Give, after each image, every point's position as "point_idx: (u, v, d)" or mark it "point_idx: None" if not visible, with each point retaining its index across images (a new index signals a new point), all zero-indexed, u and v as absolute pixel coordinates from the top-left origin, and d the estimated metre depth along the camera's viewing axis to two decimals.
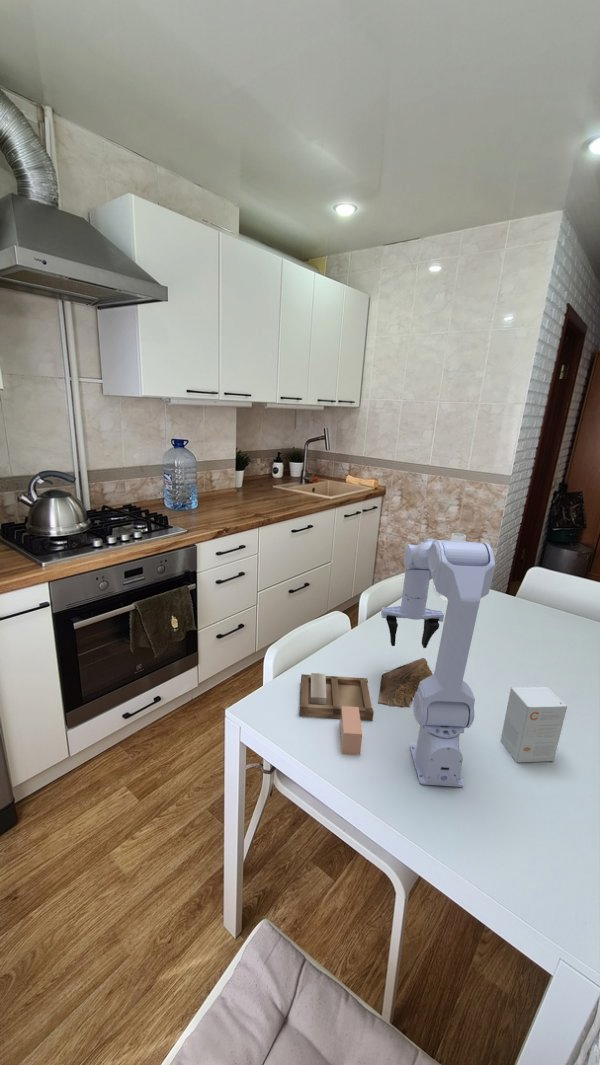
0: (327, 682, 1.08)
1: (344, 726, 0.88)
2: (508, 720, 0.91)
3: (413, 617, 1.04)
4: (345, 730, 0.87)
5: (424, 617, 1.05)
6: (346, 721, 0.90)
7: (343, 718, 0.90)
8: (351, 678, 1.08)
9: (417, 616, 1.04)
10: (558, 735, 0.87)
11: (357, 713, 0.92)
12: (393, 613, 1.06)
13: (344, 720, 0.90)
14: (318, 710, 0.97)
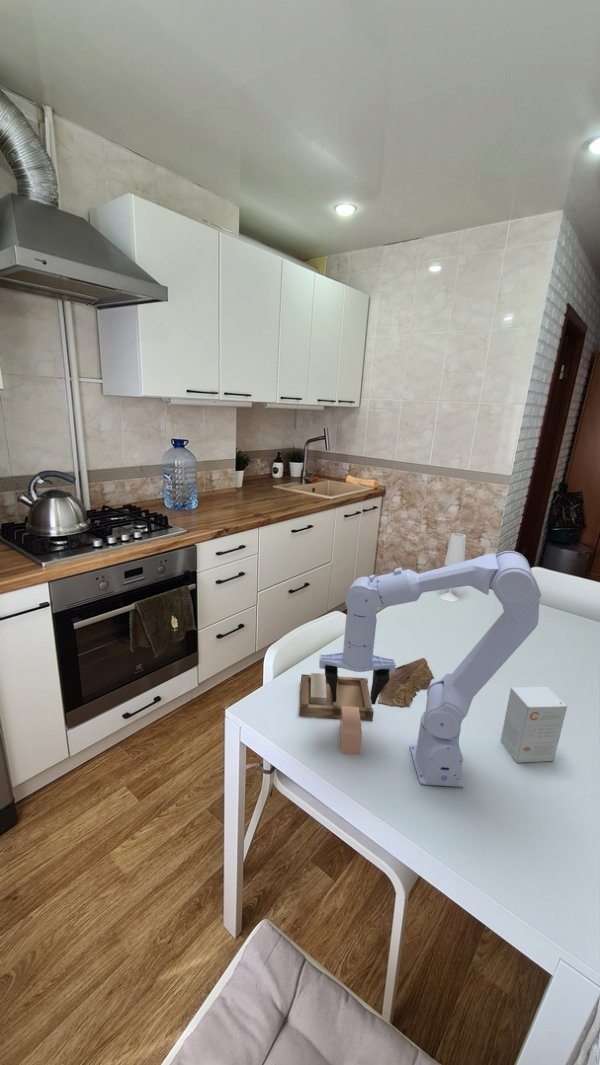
0: (327, 682, 1.08)
1: (344, 726, 0.88)
2: (508, 720, 0.91)
3: (356, 669, 0.84)
4: (345, 730, 0.87)
5: (370, 669, 0.84)
6: (346, 721, 0.90)
7: (343, 718, 0.90)
8: (351, 678, 1.08)
9: (361, 668, 0.84)
10: (558, 735, 0.87)
11: (357, 713, 0.92)
12: (332, 663, 0.85)
13: (344, 719, 0.90)
14: (318, 710, 0.97)
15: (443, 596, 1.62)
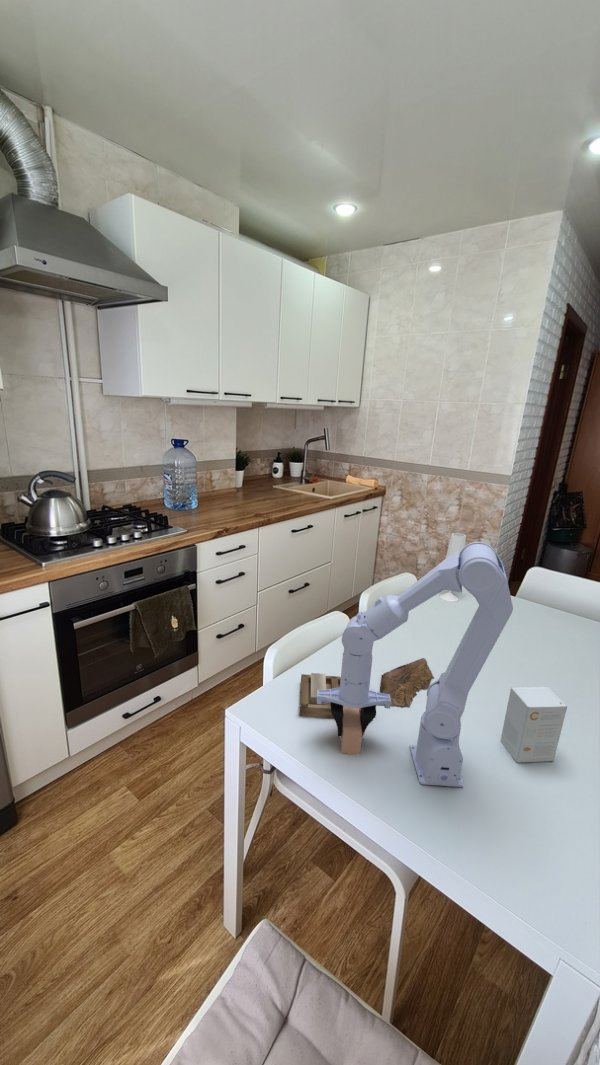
0: (327, 682, 1.08)
1: (344, 725, 0.88)
2: (508, 720, 0.91)
3: (352, 705, 0.86)
4: (345, 730, 0.87)
5: (366, 705, 0.86)
6: (346, 720, 0.90)
7: (343, 717, 0.90)
8: None
9: (357, 704, 0.86)
10: (558, 735, 0.87)
11: (357, 712, 0.92)
12: (329, 699, 0.87)
13: (344, 719, 0.90)
14: (318, 710, 0.97)
15: (443, 596, 1.62)
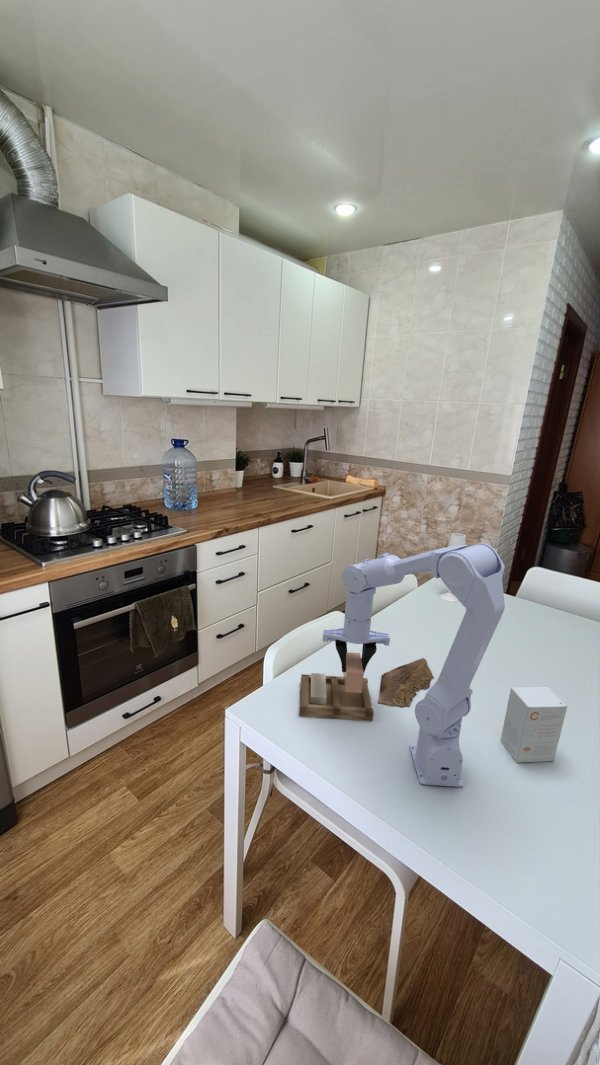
0: (327, 682, 1.08)
1: (347, 667, 0.98)
2: (508, 720, 0.91)
3: (355, 641, 0.95)
4: (349, 670, 0.97)
5: (367, 641, 0.96)
6: (349, 663, 0.99)
7: (346, 661, 1.00)
8: None
9: (359, 640, 0.95)
10: (558, 735, 0.87)
11: (359, 657, 1.02)
12: (334, 636, 0.97)
13: (347, 662, 0.99)
14: (318, 710, 0.97)
15: (443, 596, 1.62)
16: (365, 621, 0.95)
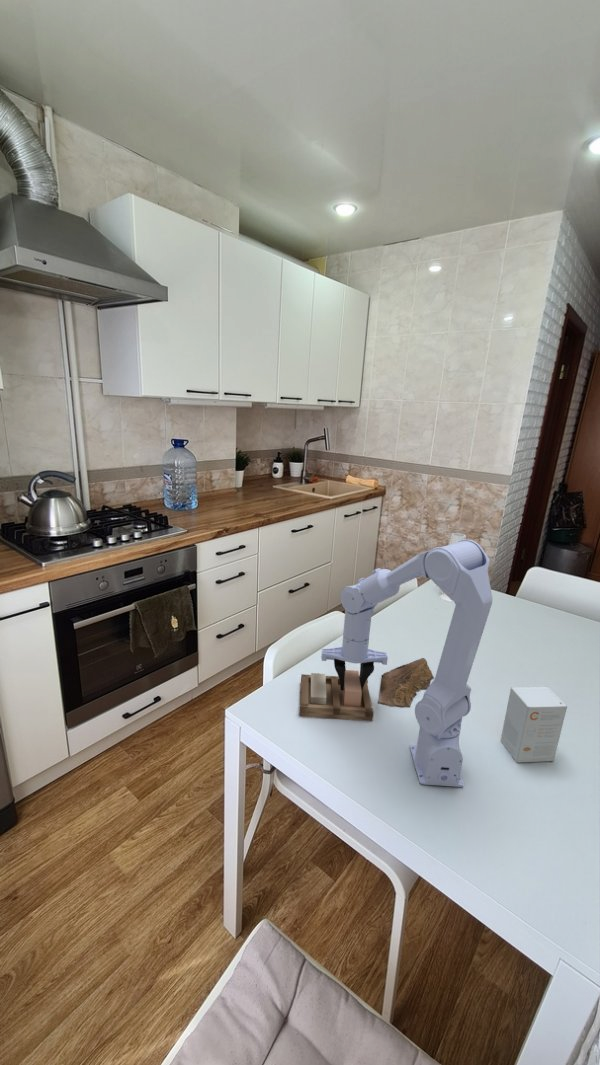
0: (327, 682, 1.08)
1: (345, 685, 0.99)
2: (508, 720, 0.91)
3: (353, 661, 0.97)
4: (347, 689, 0.98)
5: (365, 661, 0.97)
6: (347, 681, 1.01)
7: (344, 679, 1.01)
8: None
9: (358, 660, 0.97)
10: (558, 735, 0.87)
11: (357, 675, 1.03)
12: (333, 656, 0.98)
13: (345, 680, 1.01)
14: (318, 710, 0.97)
15: (443, 596, 1.62)
16: (363, 641, 0.96)
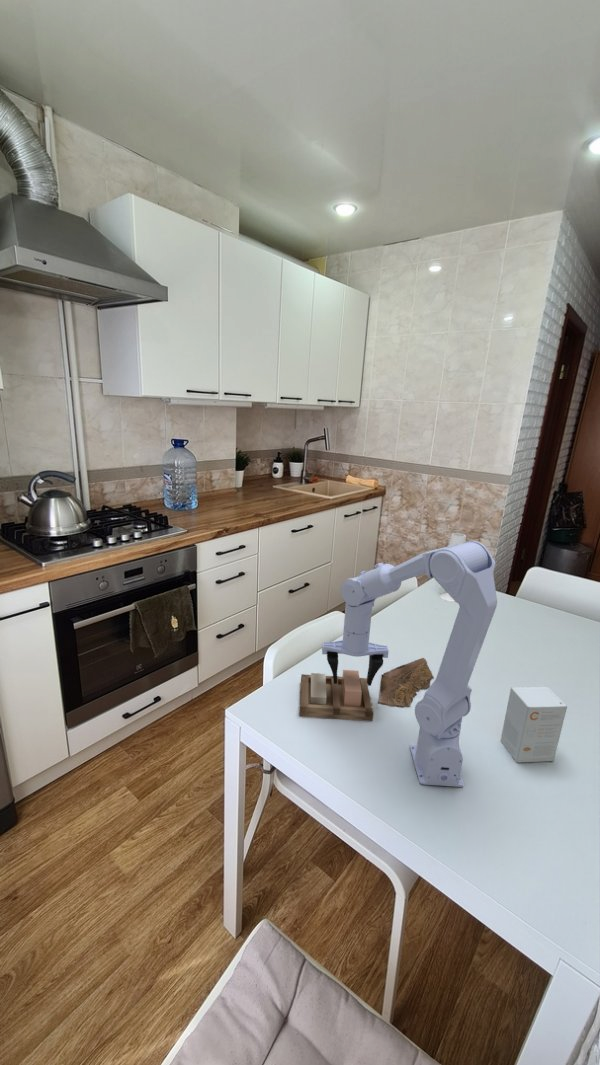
0: (327, 682, 1.08)
1: (345, 685, 0.99)
2: (508, 720, 0.91)
3: (354, 654, 0.96)
4: (347, 689, 0.98)
5: (366, 654, 0.97)
6: (347, 681, 1.01)
7: (344, 679, 1.01)
8: None
9: (358, 653, 0.96)
10: (558, 735, 0.87)
11: (357, 675, 1.03)
12: (333, 649, 0.98)
13: (345, 680, 1.01)
14: (318, 710, 0.97)
15: (443, 596, 1.62)
16: (364, 634, 0.95)
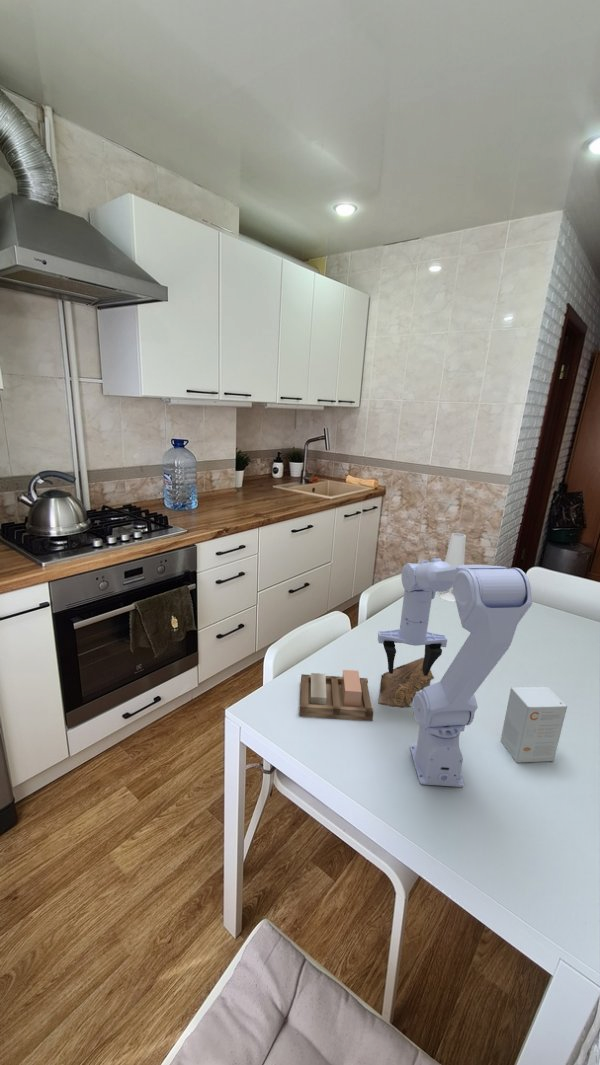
0: (327, 682, 1.08)
1: (345, 685, 0.99)
2: (508, 720, 0.91)
3: (413, 643, 0.94)
4: (347, 689, 0.98)
5: (425, 643, 0.95)
6: (347, 681, 1.01)
7: (344, 679, 1.01)
8: None
9: (417, 642, 0.94)
10: (558, 735, 0.87)
11: (357, 675, 1.03)
12: (391, 638, 0.96)
13: (345, 680, 1.01)
14: (318, 710, 0.97)
15: (443, 596, 1.62)
16: (424, 622, 0.93)
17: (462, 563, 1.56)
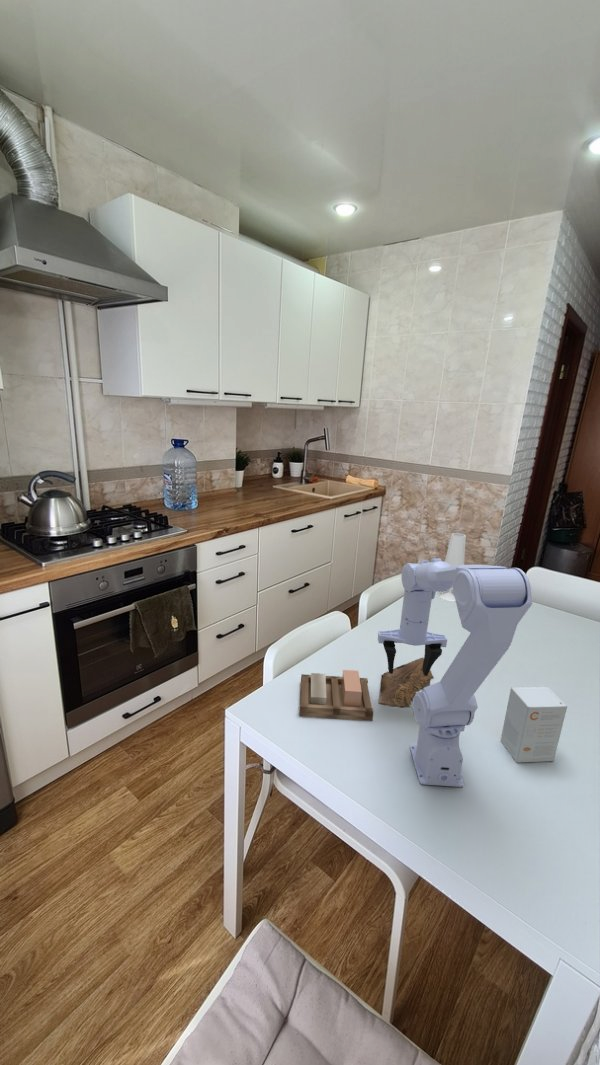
0: (327, 682, 1.08)
1: (345, 685, 0.99)
2: (508, 720, 0.91)
3: (413, 643, 0.94)
4: (347, 689, 0.98)
5: (425, 643, 0.95)
6: (347, 681, 1.01)
7: (344, 679, 1.01)
8: None
9: (417, 642, 0.94)
10: (558, 735, 0.87)
11: (357, 675, 1.03)
12: (391, 638, 0.96)
13: (345, 680, 1.01)
14: (318, 710, 0.97)
15: (443, 596, 1.62)
16: (424, 622, 0.93)
17: (462, 563, 1.56)
